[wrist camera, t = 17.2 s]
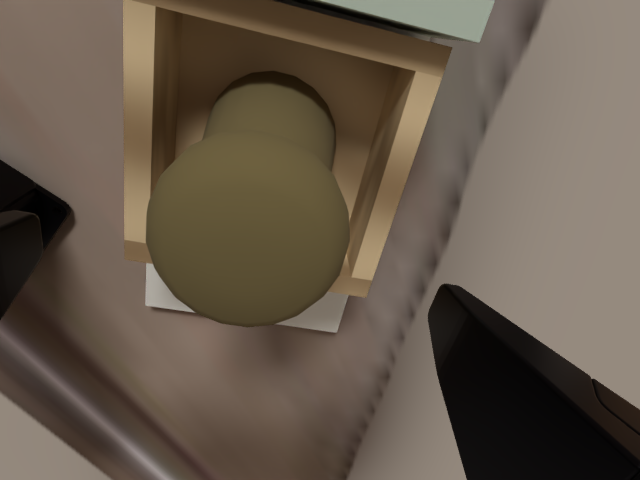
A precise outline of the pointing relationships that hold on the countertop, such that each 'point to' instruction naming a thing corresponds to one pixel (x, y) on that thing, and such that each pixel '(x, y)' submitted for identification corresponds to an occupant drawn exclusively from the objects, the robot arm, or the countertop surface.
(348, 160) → the socket block
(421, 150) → the countertop surface
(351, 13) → the track and backstop
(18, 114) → the countertop surface
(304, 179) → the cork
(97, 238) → the countertop surface
